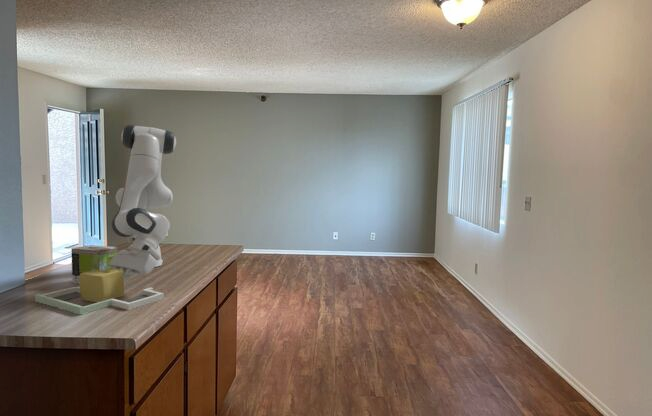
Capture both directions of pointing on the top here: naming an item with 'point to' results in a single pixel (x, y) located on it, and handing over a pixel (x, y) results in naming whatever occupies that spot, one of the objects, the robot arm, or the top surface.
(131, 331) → the top surface
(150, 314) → the top surface
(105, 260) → the tea box
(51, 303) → the frame
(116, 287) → the cheese
